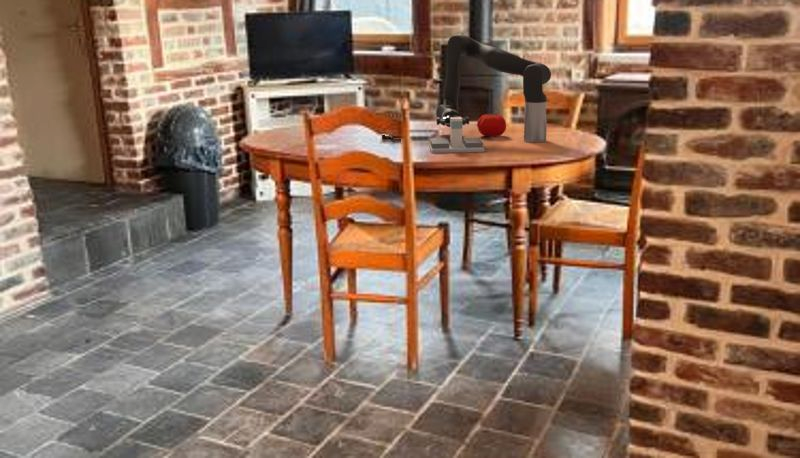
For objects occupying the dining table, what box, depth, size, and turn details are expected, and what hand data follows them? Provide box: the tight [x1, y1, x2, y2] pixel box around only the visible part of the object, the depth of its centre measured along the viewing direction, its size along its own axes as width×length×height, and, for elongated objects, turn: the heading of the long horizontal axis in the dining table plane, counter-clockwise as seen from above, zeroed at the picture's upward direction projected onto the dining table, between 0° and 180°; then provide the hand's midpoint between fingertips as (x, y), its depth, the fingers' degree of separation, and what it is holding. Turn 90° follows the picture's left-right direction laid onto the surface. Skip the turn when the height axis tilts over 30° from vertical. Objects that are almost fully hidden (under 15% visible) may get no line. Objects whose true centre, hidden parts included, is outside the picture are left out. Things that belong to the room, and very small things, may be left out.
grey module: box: [449, 116, 463, 148], centre depth 326 cm, size 5×5×12 cm
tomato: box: [476, 112, 507, 137], centre depth 356 cm, size 13×12×11 cm
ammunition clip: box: [381, 112, 401, 141], centre depth 354 cm, size 11×2×12 cm, turn 88°
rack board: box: [428, 137, 486, 154], centre depth 327 cm, size 22×16×4 cm
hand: (454, 123), depth 335 cm, fingers open, 8 cm apart
